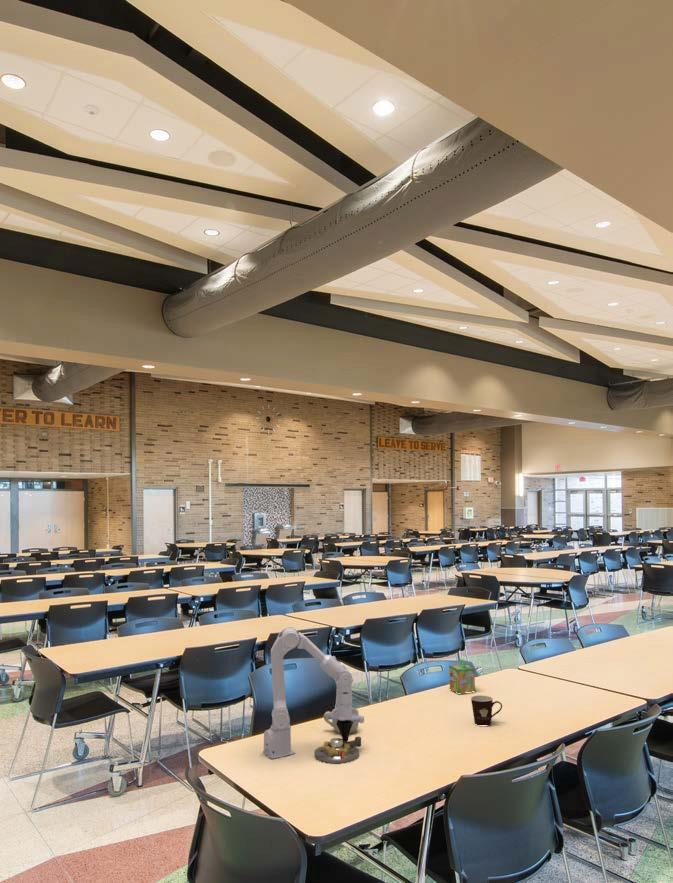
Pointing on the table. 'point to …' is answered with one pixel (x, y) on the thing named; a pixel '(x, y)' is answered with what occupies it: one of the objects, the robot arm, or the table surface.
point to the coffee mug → (483, 709)
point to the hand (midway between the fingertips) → (345, 741)
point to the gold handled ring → (345, 748)
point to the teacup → (333, 723)
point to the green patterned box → (462, 678)
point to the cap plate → (334, 759)
